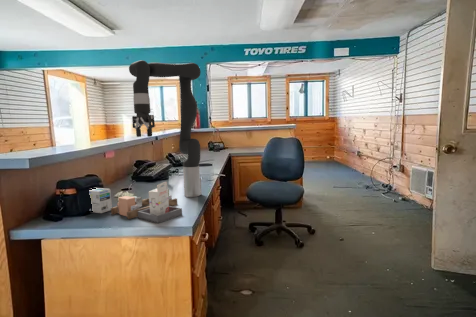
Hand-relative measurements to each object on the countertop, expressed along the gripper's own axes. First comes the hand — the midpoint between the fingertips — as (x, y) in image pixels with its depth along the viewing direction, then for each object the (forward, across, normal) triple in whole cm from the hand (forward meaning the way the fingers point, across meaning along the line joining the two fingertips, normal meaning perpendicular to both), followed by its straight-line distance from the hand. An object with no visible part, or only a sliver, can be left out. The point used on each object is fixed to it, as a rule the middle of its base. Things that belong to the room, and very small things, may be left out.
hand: (144, 136), depth 140 cm
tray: (+35, -18, +8) cm, 41 cm away
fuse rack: (+35, -2, +4) cm, 36 cm away
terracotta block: (+35, -2, +14) cm, 38 cm away
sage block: (+36, -3, -6) cm, 36 cm away
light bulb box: (+36, +16, +18) cm, 43 cm away
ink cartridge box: (+35, -18, +8) cm, 40 cm away
